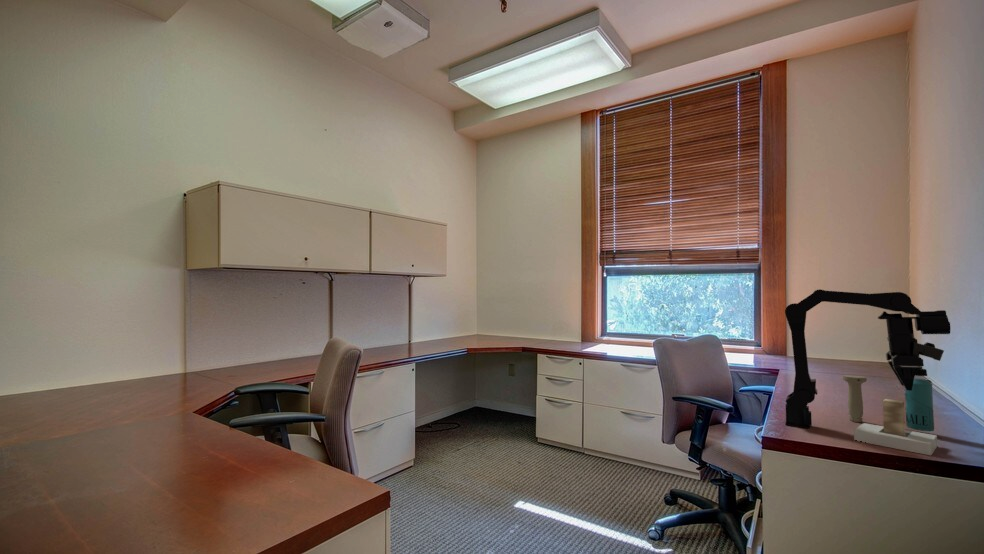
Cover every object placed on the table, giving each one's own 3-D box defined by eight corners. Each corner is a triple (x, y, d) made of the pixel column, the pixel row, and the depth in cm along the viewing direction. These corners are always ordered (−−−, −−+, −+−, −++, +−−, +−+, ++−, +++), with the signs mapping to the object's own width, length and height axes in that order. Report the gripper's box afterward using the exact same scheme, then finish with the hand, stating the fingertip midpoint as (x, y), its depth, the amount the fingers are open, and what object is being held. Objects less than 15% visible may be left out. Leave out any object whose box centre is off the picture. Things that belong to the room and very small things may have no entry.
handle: (871, 423, 147) (869, 378, 148) (849, 422, 148) (847, 377, 149) (862, 420, 152) (860, 375, 153) (841, 418, 153) (839, 375, 154)
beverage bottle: (929, 432, 138) (926, 367, 139) (939, 437, 132) (936, 370, 133) (902, 429, 141) (899, 365, 142) (911, 434, 135) (908, 368, 136)
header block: (854, 440, 129) (853, 429, 129) (864, 432, 137) (863, 423, 137) (931, 455, 117) (930, 443, 117) (937, 446, 124) (936, 435, 124)
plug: (884, 442, 127) (882, 400, 127) (887, 440, 129) (885, 398, 130) (903, 446, 124) (901, 403, 124) (905, 443, 126) (903, 401, 127)
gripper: (946, 336, 119) (953, 395, 117) (932, 332, 134) (938, 385, 132) (890, 336, 125) (896, 392, 124) (883, 332, 140) (888, 383, 139)
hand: (906, 388), depth 130 cm, fingers open, 9 cm apart
